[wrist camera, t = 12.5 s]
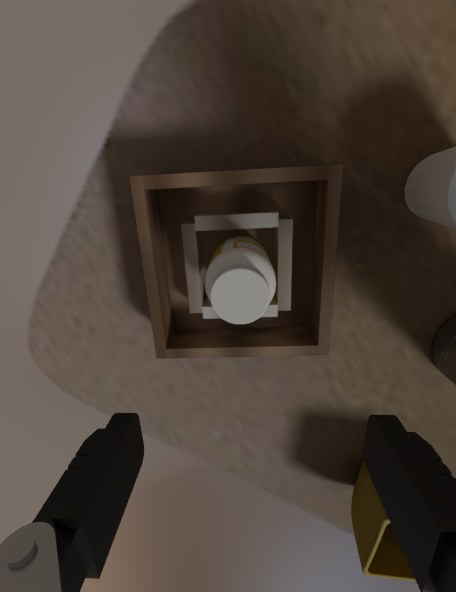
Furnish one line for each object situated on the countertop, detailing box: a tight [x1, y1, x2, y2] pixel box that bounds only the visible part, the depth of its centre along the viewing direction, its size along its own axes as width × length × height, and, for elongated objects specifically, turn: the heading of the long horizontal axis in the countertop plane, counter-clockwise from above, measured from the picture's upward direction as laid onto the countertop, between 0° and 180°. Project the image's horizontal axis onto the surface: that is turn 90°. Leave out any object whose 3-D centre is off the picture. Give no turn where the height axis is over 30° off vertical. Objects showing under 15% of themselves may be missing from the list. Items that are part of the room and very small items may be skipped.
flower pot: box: [351, 461, 416, 581], centre depth 34 cm, size 9×9×9 cm
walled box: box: [129, 164, 343, 358], centre depth 27 cm, size 16×16×5 cm
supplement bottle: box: [205, 236, 276, 324], centre depth 24 cm, size 5×5×10 cm
